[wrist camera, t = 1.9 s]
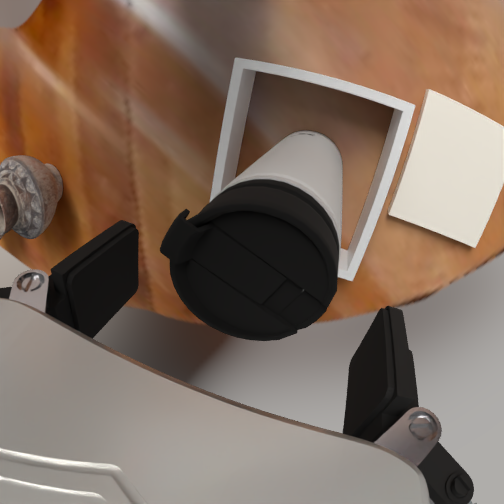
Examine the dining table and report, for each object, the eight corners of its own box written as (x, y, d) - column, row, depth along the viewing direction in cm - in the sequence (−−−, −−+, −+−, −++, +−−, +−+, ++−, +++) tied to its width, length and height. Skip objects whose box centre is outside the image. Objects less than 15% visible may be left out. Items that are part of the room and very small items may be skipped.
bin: (249, 61, 25) (235, 57, 21) (405, 103, 23) (415, 105, 19) (220, 218, 33) (205, 235, 30) (352, 259, 31) (352, 281, 28)
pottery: (-11, 182, 42) (-60, 208, 32) (61, 132, 33) (-14, 158, 23) (10, 237, 46) (-36, 269, 36) (88, 211, 38) (22, 255, 28)
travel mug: (297, 113, 26) (207, 157, 9) (356, 160, 26) (377, 290, 10) (257, 166, 29) (135, 285, 12) (313, 209, 30) (265, 377, 13)
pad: (426, 89, 22) (429, 89, 21) (514, 134, 20) (519, 136, 19) (387, 210, 28) (388, 214, 27) (472, 243, 26) (475, 247, 26)
